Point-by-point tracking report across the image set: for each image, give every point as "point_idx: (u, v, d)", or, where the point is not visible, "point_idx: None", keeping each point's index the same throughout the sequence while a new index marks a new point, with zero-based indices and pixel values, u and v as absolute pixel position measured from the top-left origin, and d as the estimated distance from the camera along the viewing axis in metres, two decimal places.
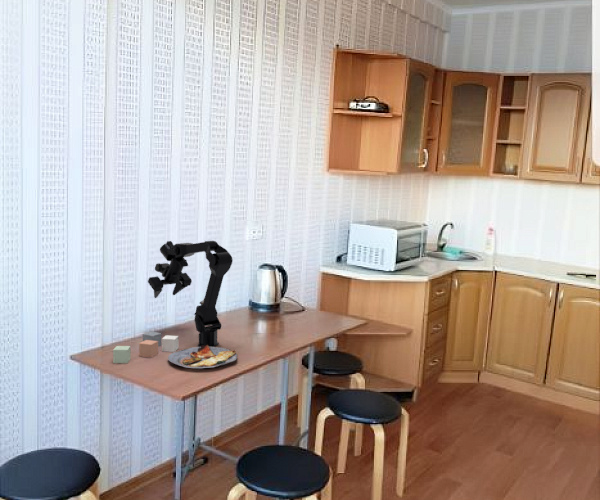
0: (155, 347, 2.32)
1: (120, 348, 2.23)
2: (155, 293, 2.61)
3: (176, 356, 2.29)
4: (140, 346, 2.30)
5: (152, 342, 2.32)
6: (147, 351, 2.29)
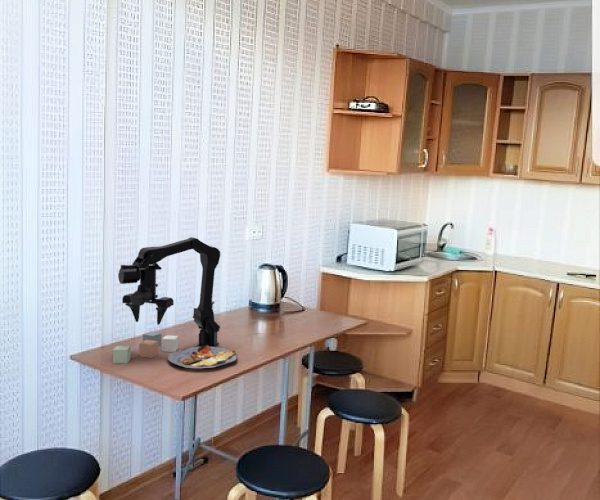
0: (155, 347, 2.32)
1: (120, 348, 2.23)
2: (161, 317, 2.30)
3: (176, 356, 2.29)
4: (140, 346, 2.30)
5: (152, 342, 2.32)
6: (147, 351, 2.29)
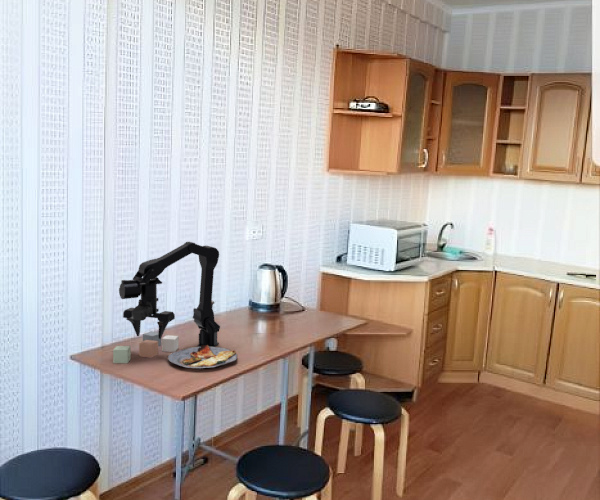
0: (155, 347, 2.32)
1: (120, 348, 2.23)
2: (162, 331, 2.30)
3: (176, 356, 2.29)
4: (140, 346, 2.30)
5: (152, 342, 2.32)
6: (147, 351, 2.29)
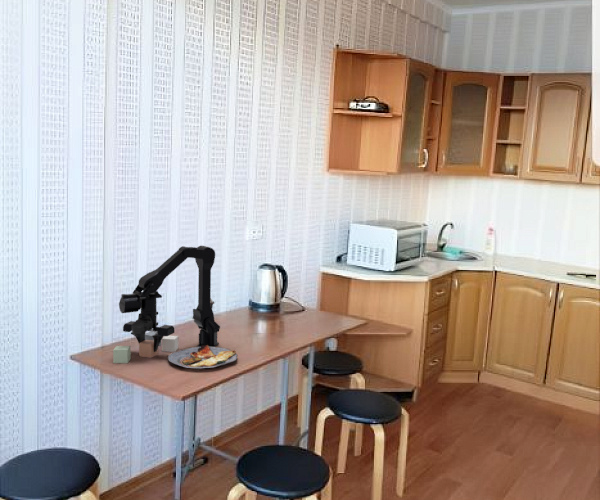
0: None
1: (120, 348, 2.23)
2: (158, 344, 2.31)
3: (176, 356, 2.29)
4: (140, 346, 2.30)
5: (152, 342, 2.32)
6: (147, 350, 2.29)
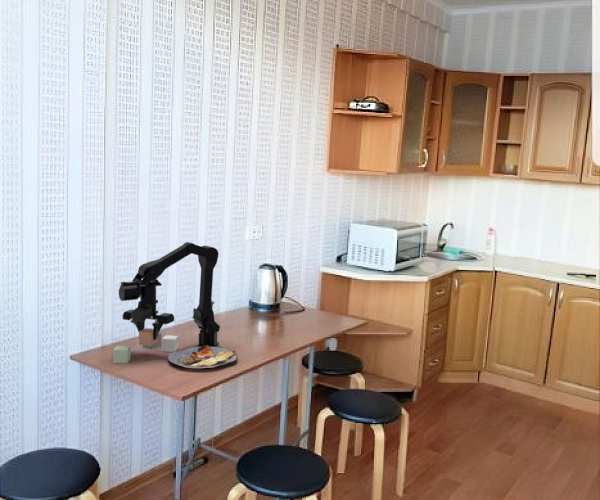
0: None
1: (120, 348, 2.23)
2: (157, 332, 2.31)
3: (176, 356, 2.29)
4: (140, 334, 2.29)
5: (152, 330, 2.31)
6: (146, 339, 2.29)
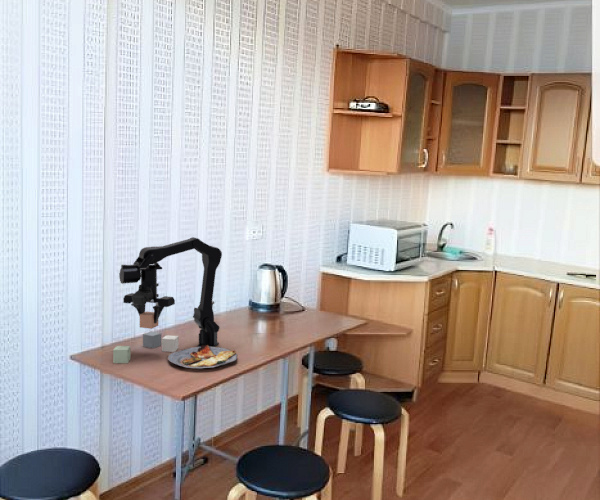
0: None
1: (120, 348, 2.23)
2: (158, 315, 2.32)
3: (176, 356, 2.29)
4: (140, 317, 2.31)
5: (152, 313, 2.32)
6: (147, 322, 2.30)
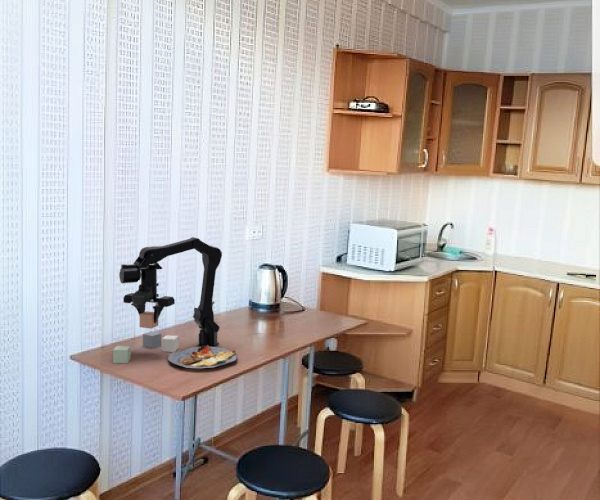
0: None
1: (120, 348, 2.23)
2: (158, 315, 2.32)
3: (176, 356, 2.29)
4: (140, 317, 2.31)
5: (152, 313, 2.32)
6: (147, 321, 2.30)
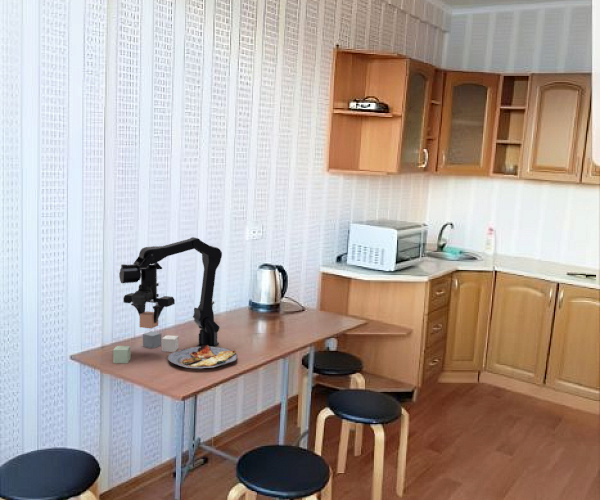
0: None
1: (120, 348, 2.23)
2: (158, 315, 2.32)
3: (176, 356, 2.29)
4: (140, 317, 2.31)
5: (152, 313, 2.32)
6: (147, 321, 2.30)
